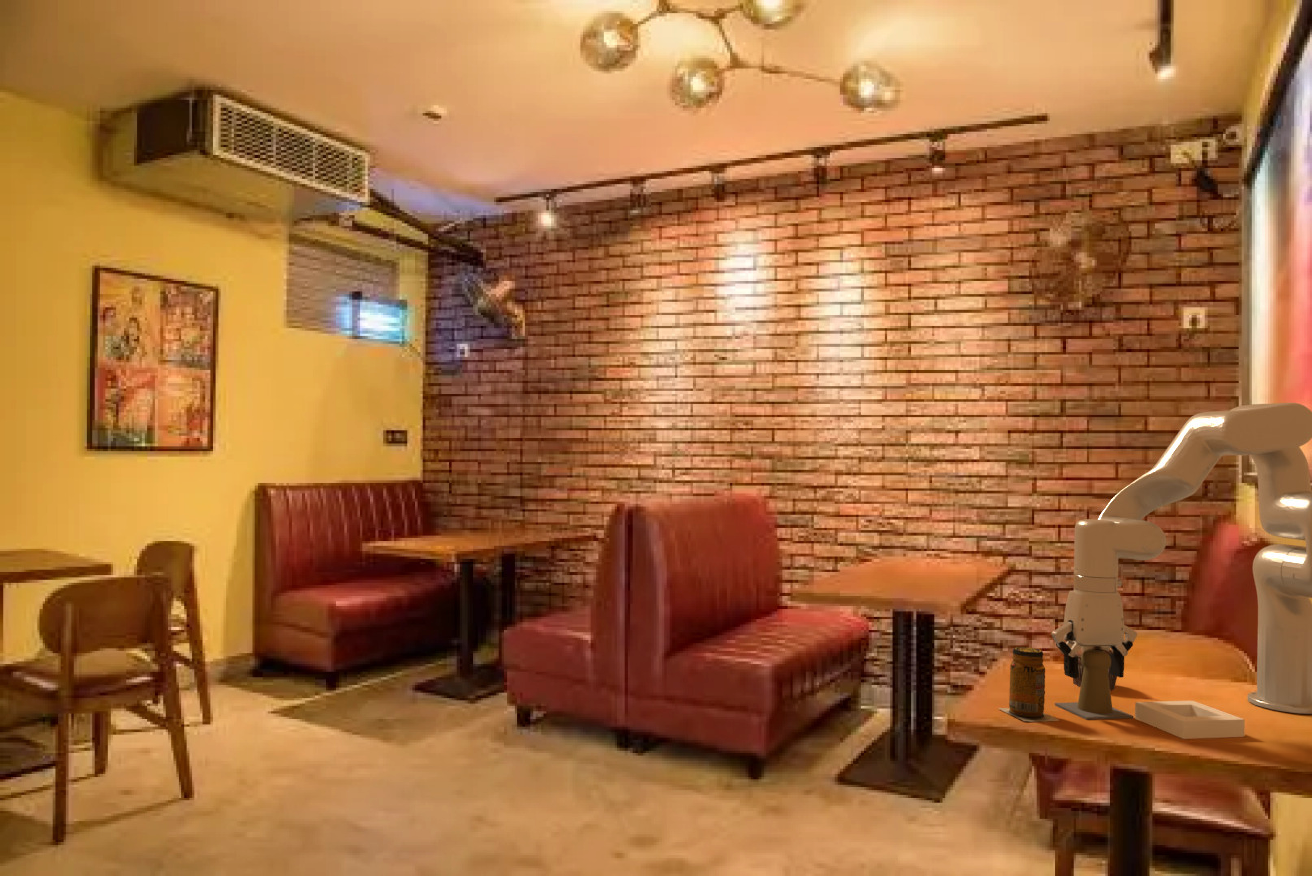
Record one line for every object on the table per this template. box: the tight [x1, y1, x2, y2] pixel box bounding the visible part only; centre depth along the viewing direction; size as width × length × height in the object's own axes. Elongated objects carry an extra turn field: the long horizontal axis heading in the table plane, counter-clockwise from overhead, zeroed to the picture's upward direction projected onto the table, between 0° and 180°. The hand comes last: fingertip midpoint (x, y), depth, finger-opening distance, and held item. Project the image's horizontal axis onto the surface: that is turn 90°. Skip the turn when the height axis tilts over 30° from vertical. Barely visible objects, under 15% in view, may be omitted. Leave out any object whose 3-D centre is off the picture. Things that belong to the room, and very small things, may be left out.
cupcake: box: [1072, 646, 1118, 691], centre depth 194 cm, size 10×10×10 cm
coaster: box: [1054, 701, 1134, 721], centre depth 174 cm, size 10×10×1 cm
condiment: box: [998, 646, 1061, 723], centre depth 170 cm, size 7×8×12 cm
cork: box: [1077, 650, 1113, 714], centre depth 174 cm, size 6×6×11 cm
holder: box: [1134, 700, 1245, 740], centre depth 165 cm, size 12×12×3 cm
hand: (1093, 676), depth 174 cm, fingers open, 9 cm apart
